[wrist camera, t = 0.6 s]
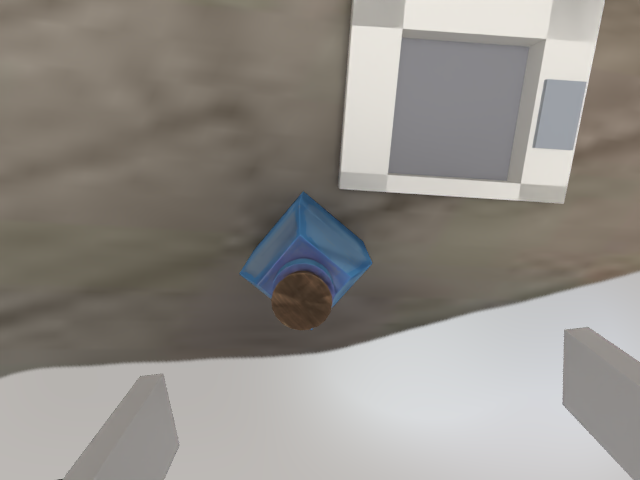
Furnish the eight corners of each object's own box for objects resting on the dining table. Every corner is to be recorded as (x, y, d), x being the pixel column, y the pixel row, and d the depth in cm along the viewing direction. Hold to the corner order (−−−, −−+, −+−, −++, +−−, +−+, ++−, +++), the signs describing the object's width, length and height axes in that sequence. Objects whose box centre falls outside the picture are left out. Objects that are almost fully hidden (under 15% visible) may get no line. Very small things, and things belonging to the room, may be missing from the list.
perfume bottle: (362, 241, 33) (386, 295, 21) (313, 297, 34) (309, 377, 22) (303, 191, 32) (293, 218, 20) (253, 250, 33) (217, 308, 21)
